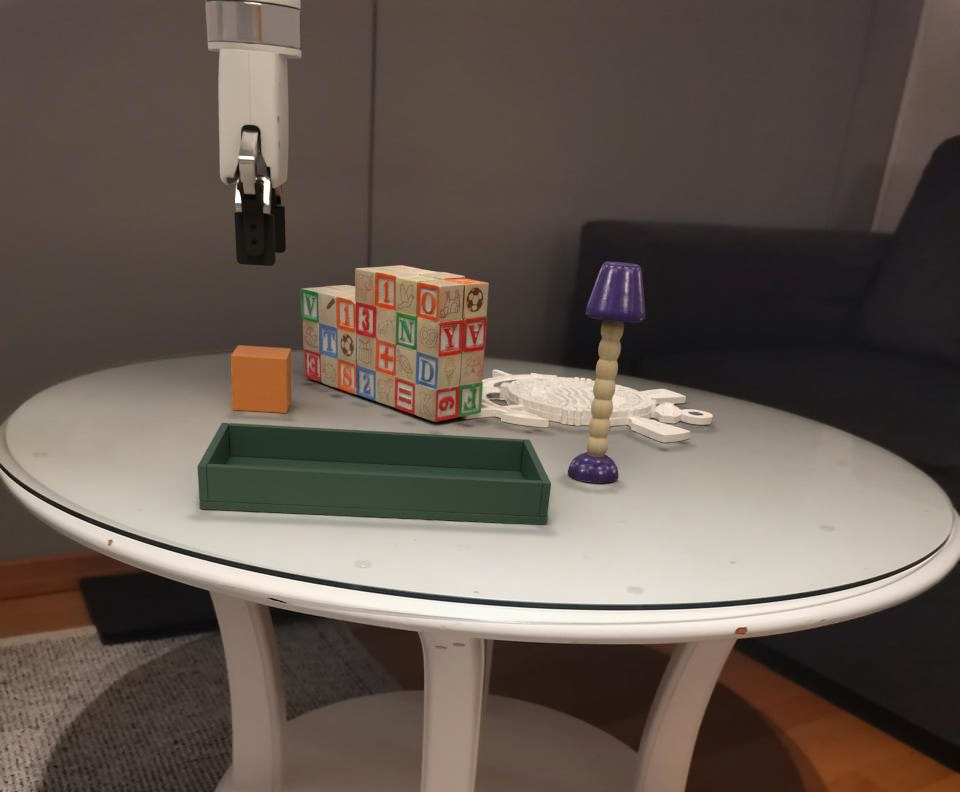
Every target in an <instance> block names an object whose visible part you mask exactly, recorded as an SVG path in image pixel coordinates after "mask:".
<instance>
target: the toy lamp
mask: <svg viewBox="0 0 960 792" xmlns="http://www.w3.org/2000/svg"><path fill="white" fill-rule="evenodd" d="M644 290H645V289H644V281H643V272H642V267H641V266H640V265H639V264H637V263H636V264H635V263H630V262H621V261H605V262H602V265H601V266H600V269H599V272H598V273H597V277H596V280H595V281H594V286H593V287H592V290H591V293H590V296H589V298H588V301H587V304H586V306H585V315H586V317H588V318H591V319H595V320H601V321H602V322H601V325H600V335H601V340H600V342H599V345H598V351H597V352H598V357H599V358H598V360H597V362H596V366H595V375H596V378H595V380H594V381H595V382H594V386H593V394H594V397H595V398H594V399H593V401H592V404H591V414H592V418H591V420H590V423H589V425H588V432H589V436H588V438H587V441H586V451H587V452H583V453H580V454H578V455H576V456H575V457H574V458H573V459H572V460H571V461H570V463H569V466H568V468H567V475H568V476H569V477H570V478H572V479H573V480H578V481H581V482H585V483H586V482H587V483H593V484H594V483H595V484H607V483H612V482H615V481H617V480H618V479H619V467H618V466H617V464H616V462H615V461H614V460H613V458H612V457H610V456H609V455H607V454H606V453H607V452H608V448H609V440H608V436H609V434H610V431H611V426H610V419H609V418H610V416H611V414H612V411H613V402H612V397H613V395H614V393H615V385H616V382H615V378H616V377H617V375H618V371H619V363H618V359H619V357H620V355H621V351H622V343H621V339H622V337H623V335H624V329H625V324H624V323H642V322H644V321H645V319H646V302H645V291H644Z"/></svg>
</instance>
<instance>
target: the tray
mask: <svg viewBox="0 0 960 792" xmlns="http://www.w3.org/2000/svg"><path fill="white" fill-rule="evenodd" d="M197 484H198V500H199V502H198V503H199V509H200V510H217V511H235V512H236V511H237V512H256V513H257V512H259V513H278V514H279V513H280V514H281V513H282V514H300V515H301V514H303V515H322V516H323V515H324V516H326V515H327V516H347V517H367V518H368V517H370V518H390V519H391V518H392V519H411V520H413V519H415V520H433V521H435V520H436V521H454V522H455V521H457V522H477V523H478V522H479V523H481V522H482V523H503V524H525V525H547V523H548V515H549V506H550V499H551V490H552V482H551V480H550V478H549V475H548V474H547V472H546V470H545V468H544V466H543V464H542V462H541V460H540V458H539V455H538V453H537V451H536V450H535V447H534V445H533V443H532V441H531V440H530V439H525V438H524V439H522V438H509V437H507V438H506V437H492V436H491V437H489V436H488V437H487V436H473V435H471V436H470V435H453V434H451V435H450V434H436V433H433V434H432V433H417V432H400V431H399V432H398V431H381V430H361V429H345V428H329V427H328V428H326V427H310V426H309V427H308V426H307V427H306V426H293V425H291V426H289V425H274V424H273V425H271V424H255V423H253V424H251V423H237V422H236V423H235V422H230V423H229V422H221V423H220V425H219V427H218V429H217V430H216V433H214V436H213V438H212V440H211V441H210V443H209V445H208V447H207V448H206V450H205V452H204V454H203V456H202V457H201V459H200V460H199V463H198V464H197Z"/></svg>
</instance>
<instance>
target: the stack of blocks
mask: <svg viewBox="0 0 960 792" xmlns="http://www.w3.org/2000/svg"><path fill="white" fill-rule="evenodd" d="M489 287H490V284H489V282H487V281H480V280H477V279H476V280H475V279H472V278H471V279H470V278H466V276H465V275H461V274H456V273H450V272H446V271H434V270H430V269H429V270H428V269H421V268H419V267H413V266H408V265H404V264H403V265H400V264H399V265H385V266H373V267H356V268H355V269H354V285H349V284H342V285H326V286H325V285H324V286H318V287H317V286H316V287H305V288H300V314H301V315H300V316H301V319H302V340H303V341H302V347H303V365H304V367H303V368H304V377H305V378H307V379H310V380H312V381H315V382H319V383H322V384H324V385H326V386H329V387H332V388H335V389H339V390H341V391H344V392H346V393H349V394H353V395H355V396H356V395H357V396H358V397H359V396H360V397H363V398H365V399H368V400H371V401H374V402H377V403H380V404H383V405H385V406H388V407H392V408H395V409H397V410H400V411H403V412H404V413H405V412H406V413H408V414H411V415H415V416H417V417H419V418H422V419H425V420H428V421H430V422H434V423H437V422H442V421H448V420H452V419H458V418H461V417H462V416H467V415H472V414H477V413H480V412H481V404H482V390H483V382H482V380H483V378H484V364H485V349H486V342H487V335H486V334H487V325H488V317H487V315H488V314H487V313H488V303H489V302H488V301H489Z"/></svg>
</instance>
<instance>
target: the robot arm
mask: <svg viewBox="0 0 960 792" xmlns="http://www.w3.org/2000/svg"><path fill="white" fill-rule="evenodd" d="M301 3H302V2H301V0H205V4H204V5H205V20H206V21H205V23H206V40H207V51H209V52H215V53H218V54H219V55H218V79H217V80H218V81H217V82H218V83H217V88H218V89H217V90H218V91H217V95H218V97H217V98H218V99H217V101H218V103H217V104H218V139H219V140H218V141H219V142H218V143H219V144H218V145H219V146H218V147H219V149H218V150H219V178H220V180H221V182H222V183H223V184H224V185H225V186H233V185H235V199H234V200H235V201H234V203H235V212H234V234H235V235H234V236H235V254H236V255H235V256H236V263H238V264H239V265H246V266H263V267H273V266H274V265H275V264H276V261H277V260H276V253H277V254H283V253H285V251H286V250H287V237H286V233H287V232H286V207H285V206H284V198H283V197H284V194H283V184H285V183H286V182H287V180H288V169H289V142H290V141H289V138H290V136H289V134H290V131H289V128H290V125H289V123H290V122H289V120H290V117H289V115H290V114H289V111H290V110H289V73H288V71H289V69H288V59H290V60H294V59H295V60H297V59H302V58H303V57H302V53H303V52H302V12H301V11H302V10H301V9H302V8H301V7H302V6H301V5H302V4H301Z"/></svg>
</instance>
